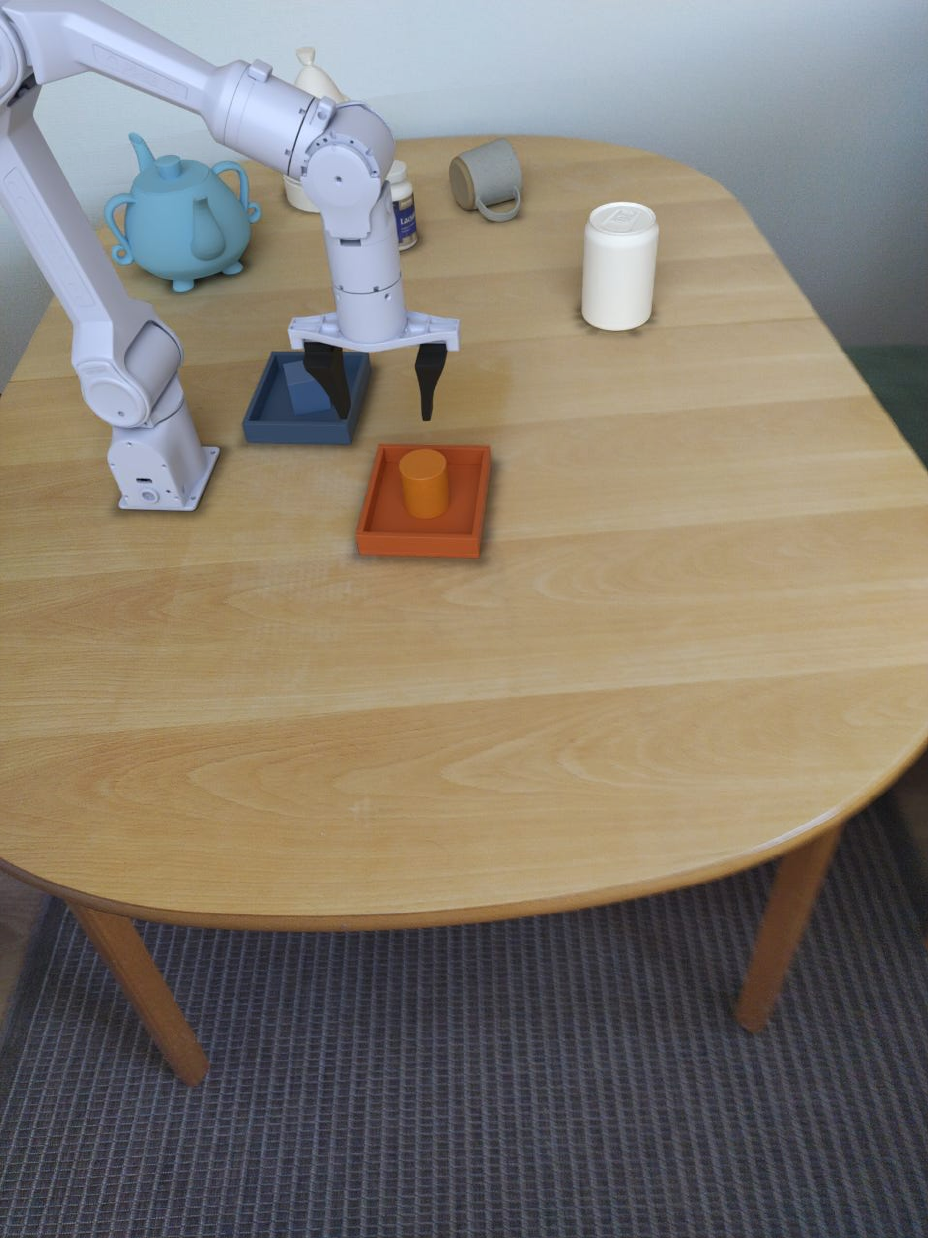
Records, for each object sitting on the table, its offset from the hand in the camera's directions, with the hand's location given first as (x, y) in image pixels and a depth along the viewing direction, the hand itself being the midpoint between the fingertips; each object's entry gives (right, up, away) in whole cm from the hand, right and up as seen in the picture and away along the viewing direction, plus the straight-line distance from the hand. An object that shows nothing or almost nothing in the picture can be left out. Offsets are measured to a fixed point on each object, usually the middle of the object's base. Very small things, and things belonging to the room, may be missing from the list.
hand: (386, 413), depth 86 cm
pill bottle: (-2, +32, +40) cm, 51 cm away
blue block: (-10, +5, +17) cm, 20 cm away
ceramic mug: (+11, +39, +45) cm, 60 cm away
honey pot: (-12, +43, +51) cm, 68 cm away
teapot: (-28, +28, +39) cm, 56 cm away
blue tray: (-10, +5, +17) cm, 20 cm away
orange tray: (+4, -8, +5) cm, 10 cm away
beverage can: (+25, +17, +25) cm, 39 cm away
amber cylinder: (+4, -8, +5) cm, 10 cm away
